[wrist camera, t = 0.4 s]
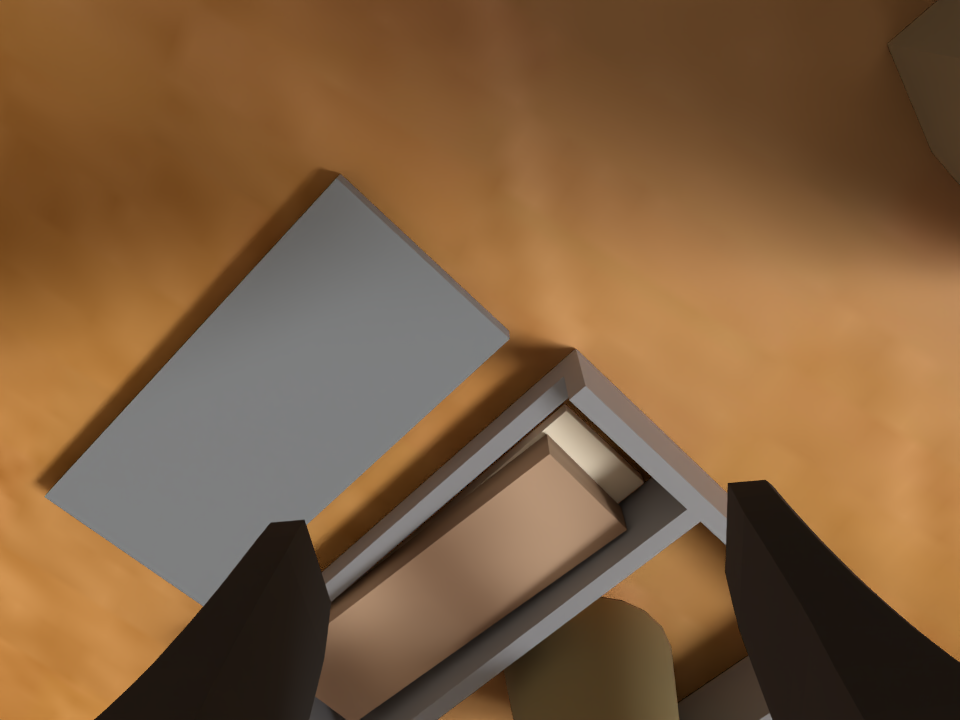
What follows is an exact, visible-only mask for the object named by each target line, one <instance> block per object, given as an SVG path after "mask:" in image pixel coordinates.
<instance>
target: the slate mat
mask: <svg viewBox="0 0 960 720" xmlns="http://www.w3.org/2000/svg"><path fill="white" fill-rule="evenodd" d="M509 339H510V338H509V331H508V330H507V329H506V328H505V327H504V326H503V325H502V324H501V323H500V322H499V321H498V320H497V319H496V318H494V317H493V316H492V315H491V314H490V313H489V312H488V311H487V310H486V309H485V308H484V307H483V306H482V305H480V304H479V303H478V302H477V301H476V300H475V299H474V298H473V297H472V296H471V295H470V294H469V293H468V292H467V291H465V290H464V289H463V288H462V287H461V286H460V285H459V284H458V283H457V282H456V281H455V280H454V279H453V278H452V277H450V276H449V275H448V274H447V273H446V272H445V271H444V270H443V269H442V268H441V267H440V266H439V265H438V264H437V263H435V262H434V261H433V260H432V259H431V258H430V257H429V256H428V255H427V254H426V253H425V252H424V251H423V250H421V249H420V248H419V247H418V246H417V245H416V244H415V243H414V242H413V241H412V240H411V239H410V238H409V237H408V236H406V235H405V234H404V233H403V232H402V231H401V230H400V229H399V228H398V227H397V226H396V225H395V224H394V223H393V222H391V221H390V220H389V219H388V218H387V217H386V216H385V215H384V214H383V213H382V212H381V211H380V210H379V209H378V208H376V207H375V206H374V205H373V204H372V203H371V202H370V201H369V200H368V199H367V198H366V197H365V196H364V195H363V194H361V193H360V192H359V191H358V190H357V189H356V188H355V187H354V186H353V185H352V184H351V183H350V182H349V181H347V180H346V179H345V178H344V177H343V176H342V175H341V174H340V175H339V176H338V177H337V178H336V179H335V180H334V181H333V182H332V183H331V184H330V185H329V186H328V188H327V189H326V190H325V191H324V192H323V193H322V194H321V195H320V196H319V197H318V198H317V200H316V201H315V202H314V203H313V204H312V205H311V206H310V207H309V208H308V209H307V210H306V212H305V213H304V214H303V215H302V216H301V217H300V218H299V219H298V220H297V221H296V222H295V224H294V225H293V226H292V227H291V228H290V229H289V230H288V231H287V232H286V233H285V234H284V236H283V237H282V238H281V239H280V240H279V241H278V242H277V243H276V244H275V245H274V246H273V247H272V249H271V250H270V251H269V252H268V253H267V254H266V255H265V256H264V257H263V258H262V259H261V261H260V262H259V263H258V264H257V265H256V266H255V267H254V268H253V269H252V270H251V271H250V273H249V274H248V275H247V276H246V277H245V278H244V279H243V280H242V281H241V282H240V283H239V285H238V286H237V287H236V288H235V289H234V290H233V291H232V292H231V293H230V294H229V295H228V297H227V298H226V299H225V300H224V301H223V302H222V303H221V304H220V305H219V306H218V307H217V308H216V310H215V311H214V312H213V313H212V314H211V315H210V316H209V317H208V318H207V319H206V320H205V322H204V323H203V324H202V325H201V326H200V327H199V328H198V329H197V330H196V331H195V332H194V334H193V335H192V336H191V337H190V338H189V339H188V340H187V341H186V342H185V343H184V344H183V346H182V347H181V348H180V349H179V350H178V351H177V352H176V353H175V354H174V355H173V356H172V358H171V359H170V360H169V361H168V362H167V363H166V364H165V365H164V366H163V367H162V368H161V370H160V371H159V372H158V373H157V374H156V375H155V376H154V377H153V378H152V379H151V380H150V381H149V383H148V384H147V385H146V386H145V387H144V388H143V389H142V390H141V391H140V392H139V393H138V395H137V396H136V397H135V398H134V399H133V400H132V401H131V402H130V403H129V404H128V405H127V407H126V408H125V409H124V410H123V411H122V412H121V413H120V414H119V415H118V416H117V417H116V419H115V420H114V421H113V422H112V423H111V424H110V425H109V426H108V427H107V428H106V429H105V431H104V432H103V433H102V434H101V435H100V436H99V437H98V438H97V439H96V440H95V441H94V442H93V444H92V445H91V446H90V447H89V448H88V449H87V450H86V451H85V452H84V453H83V454H82V456H81V457H80V458H79V459H78V460H77V461H76V462H75V463H74V464H73V465H72V466H71V468H70V469H69V470H68V471H67V472H66V473H65V474H64V475H63V476H62V477H61V478H60V480H59V481H58V482H57V483H56V484H55V485H54V486H53V487H52V488H51V490H50V491H49V492H48V493H47V494H46V495H45V498H47V499H48V500H50V501H51V502H53V503H54V504H56V505H57V506H58V507H60V508H61V509H63V510H64V511H66V512H67V513H69V514H70V515H71V516H73V517H74V518H76V519H77V520H79V521H80V522H82V523H83V524H85V525H86V526H87V527H89V528H90V529H92V530H93V531H95V532H96V533H98V534H99V535H101V536H102V537H103V538H105V539H106V540H108V541H109V542H111V543H112V544H114V545H115V546H117V547H118V548H119V549H121V550H122V551H124V552H125V553H127V554H128V555H130V556H131V557H132V558H134V559H135V560H137V561H138V562H140V563H141V564H143V565H144V566H146V567H147V568H148V569H150V570H151V571H153V572H154V573H156V574H157V575H159V576H160V577H162V578H163V579H164V580H166V581H167V582H169V583H170V584H172V585H173V586H175V587H176V588H178V589H179V590H180V591H182V592H183V593H185V594H186V595H188V596H189V597H191V598H192V599H194V600H195V601H196V602H198V603H199V604H201V605H202V606H204V605H205V604H206V603H207V601H208V600H209V599H210V598H211V596H212V595H213V594H214V593H215V592H216V590H217V589H218V588H219V587H220V585H221V584H222V583H223V582H224V580H225V579H226V578H227V577H228V575H229V574H230V573H231V572H232V570H233V569H234V568H235V567H236V565H237V564H238V563H239V561H240V560H241V559H242V558H243V556H244V555H245V554H246V552H247V551H248V550H249V549H250V547H251V546H252V545H253V544H254V542H255V541H256V540H257V538H258V537H259V536H260V535H261V534H262V532H263V531H264V530H265V529H266V527H267V526H268V525H269V524H270V523H271V522H282V521H294V520H305V523H306V525H307V524H308V523H309V522H310V521H311V520H312V519H313V518H315V517H316V516H317V515H318V514H319V513H320V512H321V511H322V510H323V509H324V508H325V507H327V506H328V505H329V504H330V503H331V502H332V501H333V500H334V499H335V498H336V497H337V496H339V495H340V494H341V493H342V492H343V491H344V490H345V489H346V488H347V487H348V486H349V485H351V484H352V483H353V482H354V481H355V480H356V479H357V478H358V477H359V476H360V475H362V474H363V473H364V472H365V471H366V470H367V469H368V468H369V467H370V466H371V465H372V464H374V463H375V462H376V461H377V460H378V459H379V458H380V457H381V456H382V455H383V454H384V453H386V452H387V451H388V450H389V449H390V448H391V447H392V446H393V445H394V444H395V443H396V442H398V441H399V440H400V439H401V438H402V437H403V436H404V435H405V434H406V433H407V432H408V431H410V430H411V429H412V428H413V427H414V426H415V425H416V424H417V423H418V422H419V421H421V420H422V419H423V418H424V417H425V416H426V415H427V414H428V413H429V412H430V411H431V410H433V409H434V408H435V407H436V406H437V405H438V404H439V403H440V402H441V401H442V400H443V399H445V398H446V397H447V396H448V395H449V394H450V393H451V392H452V391H453V390H454V389H455V388H457V387H458V386H459V385H460V384H461V383H462V382H463V381H464V380H465V379H466V378H468V377H469V376H470V375H471V374H472V373H473V372H474V371H475V370H476V369H477V368H478V367H480V366H481V365H482V364H483V363H484V362H485V361H486V360H487V359H488V358H489V357H490V356H492V355H493V354H494V353H495V352H496V351H497V350H498V349H499V348H500V347H501V346H502V345H504V344H505V343H506V342H507V341H508V340H509Z"/></svg>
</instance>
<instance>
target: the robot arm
mask: <svg viewBox="0 0 960 720" xmlns="http://www.w3.org/2000/svg"><path fill="white" fill-rule="evenodd" d="M725 573H726V578H727V582H728V586H729V591H730V595H731V599H732V603H733V607H734V611H735V615H736V619H737V623H738V627H739V631H740V633H741V636H742V639H743V642H744V645H745V647H746V650H747V653H748V655H749V658H750V661H751V664H752V666H753V669H754V672H755V675H756V677H757V680H758V683H759V685H760V688H761V691H762V693H763V696H764V699H765V701H766V704H767V707H768V709H769V712H770V715H771V717H772V720H960V662H958V661H957V660H956V659H954V658H953V657H952V656H950V655H949V654H948V653H946V652H945V651H944V650H942V649H941V648H940V647H939V646H937V645H936V644H935V643H933V642H932V641H931V640H930V639H928V638H927V637H926V636H924V635H923V634H922V633H921V632H919V631H918V630H917V629H916V628H915V627H913V626H912V625H911V624H910V623H909V622H907V621H906V620H905V619H904V618H903V617H902V616H900V615H899V614H898V613H897V612H896V611H895V610H893V609H892V608H891V607H890V606H889V605H888V604H887V603H886V602H884V601H883V600H882V599H881V598H880V597H879V596H878V595H877V594H875V593H874V592H873V591H872V590H871V589H870V588H869V587H868V586H867V585H866V584H865V583H864V582H863V581H861V580H860V579H859V578H858V577H857V576H856V575H855V574H854V573H853V572H852V571H851V570H850V569H849V568H848V567H847V566H846V565H845V564H844V563H843V562H842V561H841V560H840V559H839V558H838V557H837V556H836V555H835V554H834V553H833V552H832V551H831V550H830V549H829V548H828V547H827V546H826V545H825V544H824V543H823V542H822V541H821V540H820V539H819V538H818V536H817V535H816V534H815V533H814V532H813V531H812V530H811V529H810V528H809V527H808V526H807V525H806V523H805V522H804V521H803V520H802V519H801V518H800V517H799V516H798V515H797V514H796V512H795V511H794V510H793V509H792V508H791V507H790V506H789V504H788V503H787V502H786V501H785V500H784V499H783V497H782V496H781V495H780V494H779V493H778V492H777V490H776V489H775V488H774V487H773V486H772V485H771V484H770V483H769V482H768V481H766V480H759V481H747V482H735V483H728V493H727V528H726V562H725ZM330 609H331V600H330V597H329V594H328V591H327V588H326V585H325V582H324V579H323V576H322V572H321V569H320V566H319V563H318V560H317V557H316V554H315V551H314V548H313V545H312V541H311V538H310V535H309V532H308V529H307V526H306V523H305V520H294V521H282V522H271V523H270V524H269V525H268V526H267V527H266V529H265V530H264V531H263V532H262V534H261V535H260V536H259V537H258V538H257V540H256V541H255V542H254V544H253V545H252V546H251V547H250V549H249V550H248V551H247V552H246V554H245V555H244V556H243V558H242V559H241V560H240V561H239V563H238V564H237V565H236V567H235V568H234V569H233V570H232V572H231V573H230V574H229V575H228V577H227V578H226V579H225V580H224V582H223V583H222V584H221V585H220V587H219V588H218V589H217V590H216V592H215V593H214V594H213V595H212V596H211V598H210V599H209V600H208V601H207V603H206V604H205V605H204V606H203V607H202V609H201V610H200V611H199V612H198V613H197V615H196V616H195V617H194V618H193V619H192V621H191V622H190V623H189V624H188V625H187V626H186V628H185V629H184V630H183V631H182V632H181V633H180V634H179V635H178V636H177V638H176V639H175V640H174V641H173V642H172V643H171V644H170V645H169V646H168V648H167V649H166V650H165V651H164V652H163V653H162V654H161V655H160V656H159V658H158V659H157V660H156V661H155V662H154V663H153V664H152V665H151V666H150V667H149V668H148V669H147V670H146V671H145V672H144V673H143V674H142V675H141V676H140V677H139V678H138V679H137V680H136V681H135V682H134V683H133V684H132V685H131V686H130V687H129V688H128V689H127V690H126V691H125V692H124V693H123V694H122V695H121V696H120V697H119V698H117V699H116V700H115V701H114V702H113V703H112V704H111V705H110V706H109V707H108V708H107V709H106V710H105V711H104V712H102V713H101V714H100V715H99V716H98V717H97V718H96V719H94V720H309V718H310V714H311V711H312V707H313V703H314V699H315V695H316V691H317V687H318V683H319V679H320V675H321V670H322V666H323V662H324V657H325V650H326V643H327V635H328V627H329V618H330Z"/></svg>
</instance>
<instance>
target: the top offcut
mask: <svg viewBox="0 0 960 720" xmlns="http://www.w3.org/2000/svg"><path fill="white" fill-rule="evenodd" d="M626 530H627V528H626V524H625V520H624V516H623V513H622V509H621V506H620V505H619V504H618V503H617V502H616V501H615V500H614V499H612V498H611V497H610V496H609V495H608V494H607V493H606V492H605V491H604V490H603V489H602V488H601V487H600V486H599V485H598V484H597V483H596V482H595V481H594V480H593V479H592V478H591V477H590V476H589V475H588V474H587V473H586V472H585V471H584V470H583V469H582V468H581V467H580V466H579V465H578V464H577V463H576V462H575V461H574V460H573V459H572V458H571V457H570V456H569V455H568V454H567V453H566V452H565V451H564V450H563V449H562V448H561V447H560V446H559V445H558V444H557V443H556V442H555V441H554V440H553V439H552V438H551V437H550V436H549V435H548V434H545V435H544V436H543V437H542V438H540V439H539V440H538V441H536V442H535V443H534V444H533V445H531V446H530V447H529V448H527V449H526V450H525V451H524V452H522V453H521V454H520V455H518V456H517V457H516V458H515V459H513V460H512V461H511V462H509V463H508V464H507V465H506V466H504V467H503V468H502V469H500V470H499V471H498V472H497V473H495V474H494V475H493V476H491V477H490V478H489V479H488V480H486V481H485V482H484V483H483V484H481V485H480V486H479V487H477V488H476V489H475V490H474V491H472V492H471V493H470V494H468V495H467V496H466V497H465V498H463V499H462V500H461V501H459V502H458V503H457V504H456V505H454V506H453V507H452V508H450V509H449V510H448V511H447V512H445V513H444V514H443V515H441V516H440V517H439V518H438V519H436V520H435V521H434V522H432V523H431V524H430V525H429V526H427V527H426V528H425V529H423V530H422V531H421V532H420V533H418V534H417V535H416V536H414V537H413V538H412V539H411V540H409V541H408V542H407V543H405V544H404V545H403V546H402V547H400V548H399V549H398V550H396V551H395V552H394V553H393V554H391V555H390V556H389V557H387V558H386V559H385V560H384V561H382V562H381V563H380V564H378V565H377V566H376V567H375V568H373V569H372V570H371V571H369V572H368V573H367V574H366V575H364V576H363V577H362V578H360V579H359V580H358V581H357V582H355V583H354V584H353V585H351V586H350V587H349V588H348V589H346V590H345V591H344V592H342V593H341V594H340V595H339V596H337V597H336V598H335V599H334V600H333V601H332V602H331V609H330V618H329V627H328V635H327V643H326V650H325V657H324V662H323V666H322V670H321V675H320V679H319V683H318V687H317V691H316V695H315V697H317V698H318V699H319V700H321V701H322V702H323V703H325V704H326V705H327V706H329V707H330V708H331V709H333V710H334V711H335V712H337V713H338V714H339V715H341V716H342V717H343V718H345V719H346V720H359V719H361V718H362V717H364V716H365V715H366V714H368V713H369V712H371V711H372V710H373V709H375V708H376V707H378V706H379V705H381V704H382V703H383V702H385V701H386V700H388V699H389V698H390V697H392V696H393V695H395V694H396V693H397V692H399V691H400V690H402V689H403V688H404V687H406V686H407V685H409V684H410V683H412V682H413V681H414V680H416V679H417V678H419V677H420V676H421V675H423V674H424V673H426V672H427V671H428V670H430V669H431V668H433V667H434V666H436V665H437V664H438V663H440V662H441V661H443V660H444V659H445V658H447V657H448V656H450V655H451V654H452V653H454V652H455V651H457V650H458V649H459V648H461V647H462V646H464V645H465V644H467V643H468V642H469V641H471V640H472V639H474V638H475V637H476V636H478V635H479V634H481V633H482V632H483V631H485V630H486V629H488V628H489V627H491V626H492V625H493V624H495V623H496V622H498V621H499V620H500V619H502V618H503V617H505V616H506V615H507V614H509V613H510V612H512V611H513V610H514V609H516V608H517V607H519V606H520V605H522V604H523V603H524V602H526V601H527V600H529V599H530V598H531V597H533V596H534V595H536V594H537V593H538V592H540V591H541V590H543V589H544V588H546V587H547V586H548V585H550V584H551V583H553V582H554V581H555V580H557V579H558V578H560V577H561V576H562V575H564V574H565V573H567V572H568V571H569V570H571V569H572V568H574V567H575V566H577V565H578V564H579V563H581V562H582V561H584V560H585V559H586V558H588V557H589V556H591V555H592V554H593V553H595V552H596V551H598V550H599V549H601V548H602V547H603V546H605V545H606V544H608V543H609V542H610V541H612V540H613V539H615V538H616V537H617V536H619V535H620V534H622V533H623V532H624V531H626Z"/></svg>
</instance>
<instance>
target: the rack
mask: <svg viewBox="0 0 960 720" xmlns="http://www.w3.org/2000/svg"><path fill="white" fill-rule="evenodd" d="M568 398H569V400H570V401H571V402H572V403H573V404H574V405H575V406H576V407H577V408H578V409H579V410H580V411H582V412H583V413H584V414H585V415H586V416H587V417H588V418H589V419H590V420H591V421H592V422H593V423H594V424H596V425H597V426H598V427H599V428H600V429H601V430H602V431H603V432H604V433H605V434H606V435H607V436H609V437H610V438H611V439H612V440H613V441H614V442H615V443H616V444H617V445H618V446H619V447H620V448H621V449H623V450H624V451H625V452H626V453H627V454H628V455H629V456H630V457H631V458H632V459H633V460H634V461H636V462H637V463H638V464H639V465H640V466H641V467H642V468H643V469H644V470H645V471H646V472H647V473H648V474H650V475H651V476H652V477H651V478H650V479H649V480H648V481H646V482H645V483H644V484H643V485H641V486H640V487H639V488H638V489H636V490H635V491H634V492H633V493H631V494H630V495H629V496H627V497H626V498H625V499H624V500H622V501H621V502H620V503H619V505H620V506H621V509H622V513H623V516H624V520H625V524H626V528H627V530H626V531H624V532H623V533H622V534H620V535H619V536H617V537H616V538H615V539H613V540H612V541H610V542H609V543H608V544H606V545H605V546H603V547H602V548H601V549H599V550H598V551H596V552H595V553H593V554H592V555H591V556H589V557H588V558H586V559H585V560H584V561H582V562H581V563H579V564H578V565H577V566H575V567H574V568H572V569H571V570H569V571H568V572H567V573H565V574H564V575H562V576H561V577H560V578H558V579H557V580H555V581H554V582H553V583H551V584H550V585H548V586H547V587H546V588H544V589H543V590H541V591H540V592H538V593H537V594H536V595H534V596H533V597H531V598H530V599H529V600H527V601H526V602H524V603H523V604H522V605H520V606H519V607H517V608H516V609H514V610H513V611H512V612H510V613H509V614H507V615H506V616H505V617H503V618H502V619H500V620H499V621H498V622H496V623H495V624H493V625H492V626H491V627H489V628H488V629H486V630H485V631H483V632H482V633H481V634H479V635H478V636H476V637H475V638H474V639H472V640H471V641H469V642H468V643H467V644H465V645H464V646H462V647H461V648H459V649H458V650H457V651H455V652H454V653H452V654H451V655H450V656H448V657H447V658H445V659H444V660H443V661H441V662H440V663H438V664H437V665H436V666H434V667H433V668H431V669H430V670H428V671H427V672H426V673H424V674H423V675H421V676H420V677H419V678H417V679H416V680H414V681H413V682H412V683H410V684H409V685H407V686H406V687H404V688H403V689H402V690H400V691H399V692H397V693H396V694H395V695H393V696H392V697H390V698H389V699H388V700H386V701H385V702H383V703H382V704H381V705H379V706H378V707H376V708H375V709H373V710H372V711H371V712H369V713H368V714H366V715H365V716H364V717H362V718H361V719H359V720H438V719H439V718H440V717H441V716H443V715H444V714H445V713H447V712H448V711H449V710H451V709H452V708H453V707H455V706H456V705H457V704H459V703H460V702H461V701H463V700H464V699H465V698H467V697H468V696H469V695H471V694H472V693H473V692H475V691H476V690H477V689H479V688H480V687H481V686H483V685H484V684H485V683H487V682H488V681H489V680H491V679H492V678H493V677H495V676H496V675H497V674H499V673H500V672H501V671H503V670H504V669H505V668H507V667H508V666H509V665H511V664H512V663H513V662H515V661H516V660H517V659H519V658H520V657H521V656H523V655H524V654H525V653H527V652H528V651H529V650H531V649H532V648H533V647H535V646H536V645H537V644H539V643H540V642H541V641H542V640H544V639H545V638H546V637H548V636H549V635H550V634H552V633H553V632H554V631H556V630H557V629H558V628H560V627H561V626H562V625H564V624H565V623H566V622H568V621H569V620H570V619H572V618H573V617H574V616H576V615H577V614H578V613H580V612H581V611H582V610H584V609H585V608H586V607H588V606H589V605H590V604H592V603H593V602H594V601H596V600H597V599H598V598H600V597H601V596H602V595H604V594H605V593H606V592H608V591H609V590H610V589H612V588H613V587H614V586H616V585H617V584H618V583H620V582H621V581H622V580H624V579H625V578H626V577H628V576H629V575H630V574H632V573H633V572H634V571H636V570H637V569H638V568H639V567H641V566H642V565H643V564H645V563H646V562H647V561H649V560H650V559H651V558H653V557H654V556H655V555H657V554H658V553H659V552H661V551H662V550H663V549H665V548H666V547H667V546H669V545H670V544H671V543H673V542H674V541H675V540H677V539H678V538H679V537H681V536H682V535H683V534H685V533H686V532H687V531H689V530H690V529H691V528H693V527H694V526H695V525H697V524H698V523H699V522H701V523H703V524H704V525H705V526H706V527H707V528H708V529H709V530H710V531H711V532H712V533H713V534H714V535H715V536H717V537H718V538H719V539H720V540H721V541H722V542H723V543H724V544H725V545H726V528H727V493H726V492H725V491H724V490H723V489H722V488H721V487H720V486H719V485H718V484H717V483H716V482H715V481H714V480H713V479H712V478H711V477H710V476H709V475H708V474H707V473H706V472H704V471H703V470H702V469H701V468H700V467H699V466H698V465H697V464H696V463H695V462H694V461H693V460H692V459H691V458H690V457H689V456H688V455H687V454H686V453H685V452H684V451H682V450H681V449H680V448H679V447H678V446H677V445H676V444H675V443H674V442H673V441H672V440H671V439H670V438H669V437H668V436H667V435H666V434H665V433H664V432H663V431H662V430H661V429H659V428H658V427H657V426H656V425H655V424H654V423H653V422H652V421H651V420H650V419H649V418H648V417H647V416H646V415H645V414H644V413H643V412H642V411H641V410H640V409H639V408H638V407H636V406H635V405H634V404H633V403H632V402H631V401H630V400H629V399H628V398H627V397H626V396H625V395H624V394H623V393H622V392H621V391H620V390H619V389H618V388H617V387H616V386H614V385H613V384H612V383H611V382H610V381H609V380H608V379H607V378H606V377H605V376H604V375H603V374H602V373H601V372H600V371H599V370H598V369H597V368H596V367H595V366H594V365H593V364H591V363H590V362H589V361H588V360H587V359H586V358H585V357H584V356H583V355H582V354H581V353H580V352H579V351H578V350H577V349H575V350H574V351H572V352H571V353H570V354H569V355H568V356H567V357H566V358H565V359H563V360H562V361H561V362H560V363H559V364H558V365H557V366H555V367H554V368H553V369H552V370H551V371H550V372H549V373H548V374H546V375H545V376H544V377H543V378H542V379H541V380H540V381H538V382H537V383H536V384H535V385H534V386H533V387H532V388H530V389H529V390H528V391H527V392H526V393H525V394H524V395H523V396H521V397H520V398H519V399H518V400H517V401H516V402H515V403H513V404H512V405H511V406H510V407H509V408H508V409H507V410H506V411H504V412H503V413H502V414H501V415H500V416H499V417H498V418H496V419H495V420H494V421H493V422H492V423H491V424H490V425H489V426H487V427H486V428H485V429H484V430H483V431H482V432H481V433H479V434H478V435H477V436H476V437H475V438H474V439H473V440H471V441H470V442H469V443H468V444H467V445H466V446H465V447H464V448H462V449H461V450H460V451H459V452H458V453H457V454H456V455H454V456H453V457H452V458H451V459H450V460H449V461H448V462H447V463H445V464H444V465H443V466H442V467H441V468H440V469H439V470H437V471H436V472H435V473H434V474H433V475H432V476H431V477H429V478H428V479H427V480H426V481H425V482H424V483H423V484H422V485H420V486H419V487H418V488H417V489H416V490H415V491H414V492H412V493H411V494H410V495H409V496H408V497H407V498H406V499H405V500H403V501H402V502H401V503H400V504H399V505H398V506H397V507H395V508H394V509H393V510H392V511H391V512H390V513H389V514H388V515H386V516H385V517H384V518H383V519H382V520H381V521H380V522H378V523H377V524H376V525H375V526H374V527H373V528H372V529H370V530H369V531H368V532H367V533H366V534H365V535H364V536H363V537H361V538H360V539H359V540H358V541H357V542H356V543H355V544H353V545H352V546H351V547H350V548H349V549H348V550H347V551H346V552H344V553H343V554H342V555H341V556H340V557H339V558H338V559H336V560H335V561H334V562H333V563H332V564H331V565H330V566H329V567H327V568H326V569H325V570H324V571H323V572H322V576H323V579H324V582H325V585H326V588H327V591H328V594H329V597H330V600H331V602H332V601H333V600H334V599H335V598H336V597H337V596H339V595H340V594H341V593H342V592H343V591H344V590H346V589H347V588H348V587H349V586H350V585H351V584H353V583H354V582H355V581H356V580H357V579H358V578H360V577H361V576H362V575H363V574H364V573H365V572H367V571H368V570H369V569H370V568H371V567H372V566H374V565H375V564H376V563H377V562H378V561H379V560H380V559H382V558H383V557H384V556H385V555H386V554H387V553H389V552H390V551H391V550H392V549H393V548H394V547H396V546H397V545H398V544H399V543H400V542H401V541H403V540H404V539H405V538H406V537H407V536H408V535H410V534H411V533H412V532H413V531H414V530H415V529H417V528H418V527H419V526H420V525H421V524H422V523H423V522H425V521H426V520H427V519H428V518H429V517H430V516H432V515H433V514H434V513H435V512H436V511H437V510H439V509H440V508H441V507H442V506H443V505H444V504H446V503H447V502H448V501H449V500H450V499H451V498H453V497H454V496H455V495H456V494H457V493H458V492H459V491H461V490H462V489H463V488H464V487H465V486H466V485H468V484H469V483H470V482H471V481H472V480H473V479H475V478H476V477H477V476H478V475H479V474H480V473H482V472H483V471H484V470H485V469H486V468H487V467H489V466H490V465H491V464H492V463H493V462H494V461H496V460H497V459H498V458H499V457H500V456H501V455H502V454H504V453H505V452H506V451H507V450H508V449H509V448H511V447H512V446H513V445H514V444H515V443H516V442H518V441H519V440H520V439H521V438H522V437H523V436H525V435H526V434H527V433H528V432H529V431H530V430H532V429H533V428H534V427H535V426H536V425H537V424H539V423H540V422H541V421H542V420H543V419H544V418H545V417H547V416H548V415H549V414H550V413H551V412H552V411H554V410H555V409H556V408H557V407H558V406H559V405H561V404H562V403H563V402H564V401H565V400H566V399H568ZM678 713H679V720H772V717H771V715H770V712H769V709H768V707H767V704H766V701H765V699H764V696H763V693H762V691H761V688H760V685H759V683H758V680H757V677H756V675H755V672H754V669H753V666H752V664H751V661H750V658H749V655H748V656H747V657H746V658H744V659H743V660H741V661H740V662H738V663H737V664H735V665H734V666H732V667H731V668H729V669H728V670H726V671H725V672H723V673H722V674H720V675H719V676H717V677H716V678H715V679H713V680H712V681H710V682H709V683H707V684H706V685H704V686H703V687H701V688H700V689H698V690H697V691H695V692H694V693H692V694H691V695H689V696H688V697H686V698H685V699H683V700H682V701H681V702H679V703H678ZM309 720H346V719H345V718H343V717H342V716H341V715H339V714H338V713H337V712H335V711H334V710H333V709H331V708H330V707H329V706H327V705H326V704H325V703H323V702H322V701H321V700H319V699H318V698H317V697H315V699H314V703H313V707H312V711H311V714H310V718H309Z"/></svg>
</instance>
